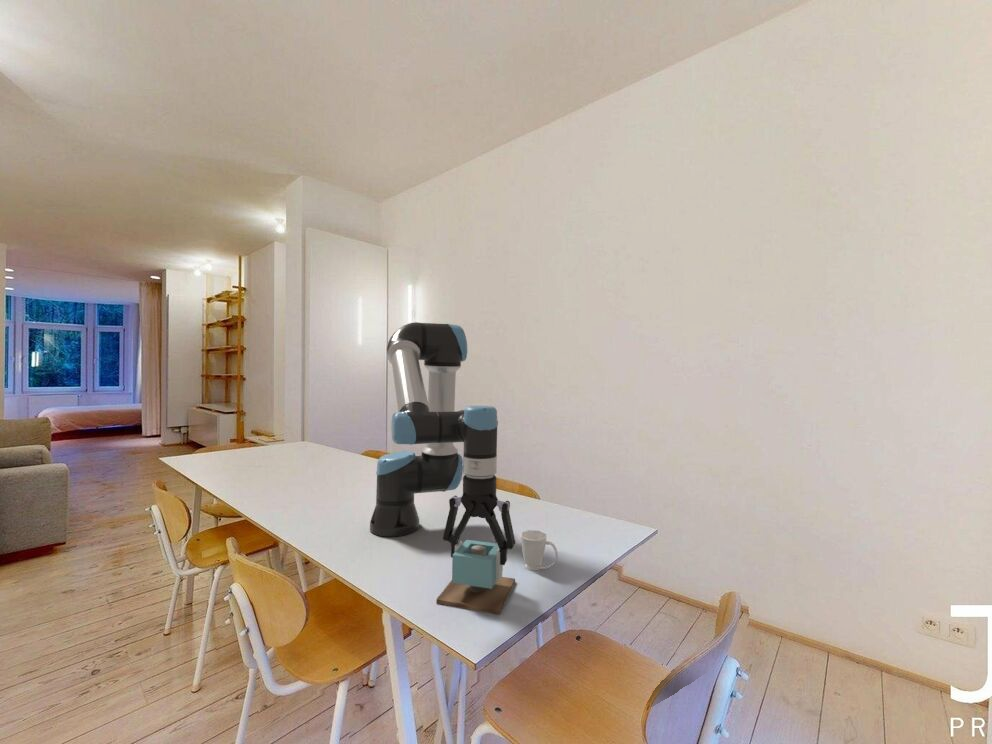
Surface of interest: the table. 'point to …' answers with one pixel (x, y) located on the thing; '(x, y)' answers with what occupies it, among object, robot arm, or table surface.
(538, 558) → the cup
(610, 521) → the table surface
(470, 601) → the post stand
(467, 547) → the collar
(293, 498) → the table surface
